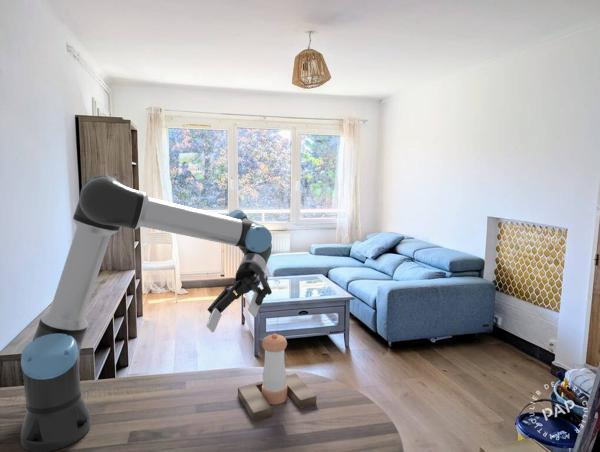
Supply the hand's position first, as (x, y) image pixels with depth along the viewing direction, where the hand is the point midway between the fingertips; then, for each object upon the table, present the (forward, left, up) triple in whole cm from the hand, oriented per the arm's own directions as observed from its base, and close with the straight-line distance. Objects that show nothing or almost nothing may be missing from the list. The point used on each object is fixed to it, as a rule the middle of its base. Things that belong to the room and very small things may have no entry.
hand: (230, 321), depth 109 cm
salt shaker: (0, +13, -26) cm, 30 cm away
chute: (+2, +13, -26) cm, 29 cm away
